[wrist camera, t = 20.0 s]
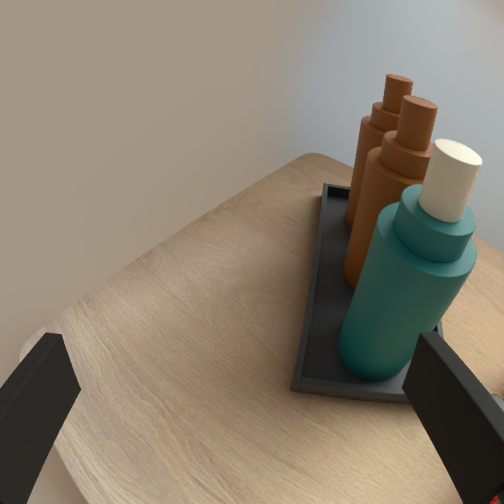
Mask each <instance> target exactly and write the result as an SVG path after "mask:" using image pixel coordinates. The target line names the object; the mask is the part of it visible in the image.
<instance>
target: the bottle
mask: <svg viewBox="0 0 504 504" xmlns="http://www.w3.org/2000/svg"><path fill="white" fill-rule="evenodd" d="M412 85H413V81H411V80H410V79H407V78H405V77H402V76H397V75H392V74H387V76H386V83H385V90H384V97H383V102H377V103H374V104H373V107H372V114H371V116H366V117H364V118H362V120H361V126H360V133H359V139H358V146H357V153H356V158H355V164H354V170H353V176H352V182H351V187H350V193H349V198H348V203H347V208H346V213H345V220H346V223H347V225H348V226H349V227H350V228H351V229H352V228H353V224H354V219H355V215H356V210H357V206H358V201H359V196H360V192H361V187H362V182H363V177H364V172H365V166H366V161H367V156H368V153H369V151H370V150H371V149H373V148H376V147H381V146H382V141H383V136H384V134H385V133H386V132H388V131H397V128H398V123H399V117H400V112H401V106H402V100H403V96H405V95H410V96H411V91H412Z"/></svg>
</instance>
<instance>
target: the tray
mask: <svg viewBox="0 0 504 504" xmlns="http://www.w3.org/2000/svg"><path fill="white" fill-rule="evenodd" d="M349 193H350V187H345V186H338V185H332V184H325V183H324V185H323V193H322V201H321V209H320V217H319V225H318V233H317V240H316V247H315V254H314V261H313V268H312V274H311V281H310V287H309V293H308V299H307V305H306V311H305V317H304V323H303V328H302V334H301V339H300V344H299V350H298V355H297V360H296V365H295V370H294V375H293V380H292V385H291V391H296V392H303V393H309V394H315V395H322V396H329V397H337V398H345V399H354V400H363V401H374V402H385V403H399V404H411V403H410V402H409V400H408V398H407V396H406V395H405V393H404V391H403V390H402V385H403V382H404V380H405V377H406V374H407V371H408V368H409V365H410V362H411V360H410V361H409V362H408V363H407V364H406V366H405V367H404V368H403V369H402V371H401V372H400V373H398V374H397V375H396V376H394V377H392V378H390V379H388V380H384V381H369V380H365V379H362V378H360V377H358V376H356V375H354V374H353V373H352V372H350V371H349V370H348V369H347V368H346V366H345V365H344V364H343V362H342V360H341V359H340V356H339V353H338V348H337V341H338V337H339V334H340V331H341V328H342V326H343V323H344V320H345V318H346V315H347V312H348V309H349V307H350V304H351V301H352V298H353V295H354V292H355V289H353V288H352V287H351V286H350V285H349V284H348V282H347V281H346V279H345V277H344V274H343V264H344V260H345V257H346V253H347V249H348V245H349V240H350V236H351V232H352V229H351V228H350V227H349V226H348V225H347V223H346V220H345V213H346V208H347V203H348V198H349ZM432 331H436V332H437V333H438V334H439V335H440V336H441V337H442V338H443V330H442V322H441V319H440V321H439V322H438V323H437V325H436V326H435V328H434V329H433V330H432ZM443 339H444V338H443ZM411 359H412V358H411Z"/></svg>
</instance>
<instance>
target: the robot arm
mask: <svg viewBox="0 0 504 504" xmlns="http://www.w3.org/2000/svg"><path fill="white" fill-rule="evenodd" d="M402 390H403V391H404V393H405V395H406V396H407V398H408V400H409V402H410V403H411V405H412V407H413V409H414V410H415V412H416V414H417V416H418V418H419V419H420V421H421V423H422V425H423V426H424V428H425V430H426V432H427V434H428V436H429V437H430V439H431V441H432V443H433V445H434V447H435V449H436V450H437V452H438V454H439V456H440V458H441V460H442V462H443V464H444V466H445V468H446V470H447V471H448V473H449V475H450V477H451V479H452V481H453V483H454V485H455V487H456V489H457V491H458V493H459V495H460V497H461V499H462V502H463V504H488V503H489V502H490V501H491V500H492V499H493V498H494V497H495V496H497V498H498V499H499V500H498V501H497V502H496V503H495V504H504V400H503V399H501V398H500V397H499V396H497V395H496V394H493V395H490V393H489V392H488V391H487V390H486V389H485V387H484V386H483V385H482V384H481V382H480V381H479V380H478V379H477V378H476V376H475V375H474V374H473V373H472V372H471V370H470V369H469V368H468V367H467V366H466V365H465V363H464V362H463V361H462V360H461V359H460V358H459V356H458V355H457V354H456V353H455V352H454V351H453V350H452V348H451V347H450V346H449V345H448V344H447V343H446V342H445V340H444V339H443V338H442V337H441V336H440V335H439V334H438V333H437V332H436V331H430V332H422V333H420V334H419V337H418V341H417V344H416V347H415V350H414V353H413V356H412V359H411V362H410V365H409V368H408V371H407V374H406V377H405V380H404V382H403V385H402ZM80 391H81V388H80V386H79V383H78V380H77V378H76V375H75V373H74V370H73V367H72V364H71V362H70V359H69V356H68V353H67V350H66V347H65V344H64V341H63V337H62V334H55V333H47V332H46V333H45V334H44V335H43V336H42V337H41V339H40V340H39V341H38V342H37V343H36V345H35V346H34V347H33V348H32V349H31V351H30V352H29V353H28V354H27V355H26V357H25V358H24V359H23V360H22V362H21V363H20V364H19V365H18V367H17V368H16V369H15V370H14V372H13V373H12V374H11V375H10V377H9V378H8V379H7V381H6V382H5V383H4V384H3V386H2V387H1V388H0V504H27V501H28V499H29V496H30V494H31V492H32V489H33V487H34V485H35V482H36V480H37V478H38V476H39V473H40V471H41V469H42V467H43V464H44V462H45V460H46V458H47V456H48V454H49V451H50V450H51V448H52V445H53V443H54V441H55V439H56V437H57V435H58V433H59V431H60V429H61V427H62V425H63V423H64V421H65V419H66V417H67V415H68V413H69V411H70V410H71V408H72V406H73V404H74V402H75V400H76V398H77V396H78V394H79V393H80Z"/></svg>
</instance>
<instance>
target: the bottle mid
mask: <svg viewBox="0 0 504 504" xmlns="http://www.w3.org/2000/svg"><path fill="white" fill-rule="evenodd" d="M437 108H438V107H437V106H436V105H435V104H434V103H432V102H430V101H428V100H425V99H423V98H419V97H416V96H410V95H405V96H403V100H402V106H401V112H400V117H399V123H398V128H397V131H388V132H386V133H385V134H384V136H383V141H382V146H381V147H376V148H373V149H371V150H370V151H369V153H368V156H367V161H366V166H365V172H364V177H363V182H362V187H361V192H360V196H359V201H358V206H357V210H356V215H355V219H354V224H353V228H352V232H351V236H350V240H349V245H348V249H347V253H346V257H345V260H344V264H343V274H344V277H345V279H346V281H347V282H348V284H349V285H350V286H351V287H352V288H353V289H355V290H356V287H357V284H358V281H359V278H360V275H361V272H362V268H363V265H364V262H365V259H366V256H367V253H368V249H369V246H370V243H371V239H372V236H373V232H374V229H375V226H376V222H377V218H378V216H379V214H380V212H381V211H382V210H383V209H384V208H385V207H386V206H388V205H390V204H393V203H396V202H400V198H401V195H402V192H403V191H404V189H406V188H407V187H409V186H411V185H417V184H423V182H424V178H425V175H426V171H427V168H428V164H429V161H430V157H431V153H432V150H433V146H434V144H433V143H431V142H430V139H431V135H432V131H433V126H434V122H435V117H436V113H437Z"/></svg>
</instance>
